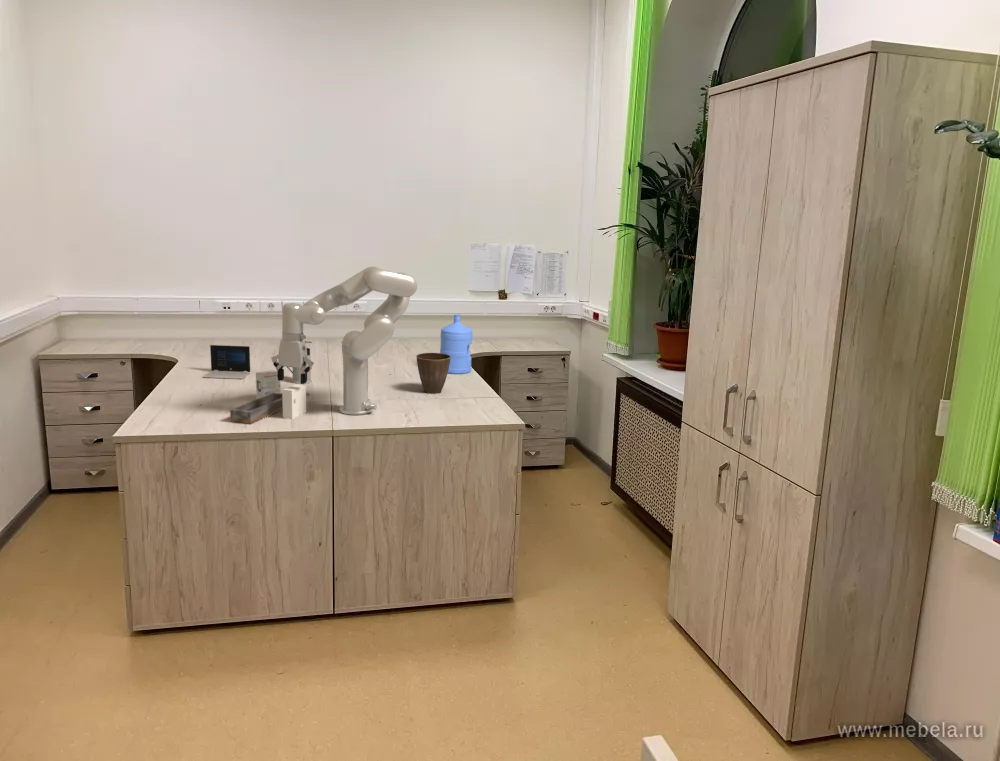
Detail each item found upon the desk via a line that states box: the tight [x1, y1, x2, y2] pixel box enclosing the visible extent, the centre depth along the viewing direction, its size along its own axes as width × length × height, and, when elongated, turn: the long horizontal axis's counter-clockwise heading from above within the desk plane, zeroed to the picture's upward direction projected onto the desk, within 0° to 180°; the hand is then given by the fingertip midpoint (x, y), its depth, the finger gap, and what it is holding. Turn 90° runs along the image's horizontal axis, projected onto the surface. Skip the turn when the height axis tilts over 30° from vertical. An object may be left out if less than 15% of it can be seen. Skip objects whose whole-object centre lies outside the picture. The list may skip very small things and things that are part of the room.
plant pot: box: [415, 352, 451, 395], centre depth 333 cm, size 15×15×16 cm
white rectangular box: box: [281, 384, 307, 420], centre depth 289 cm, size 4×10×11 cm, turn 164°
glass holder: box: [286, 347, 313, 385], centre depth 341 cm, size 9×14×15 cm, turn 68°
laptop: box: [202, 344, 251, 380], centre depth 346 cm, size 18×12×13 cm
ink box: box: [255, 369, 282, 400], centre depth 309 cm, size 9×5×12 cm, turn 141°
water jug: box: [439, 313, 473, 375], centre depth 374 cm, size 16×16×28 cm
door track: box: [229, 392, 283, 425], centre depth 291 cm, size 8×28×4 cm, turn 164°
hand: (292, 381), depth 287 cm, fingers open, 9 cm apart
